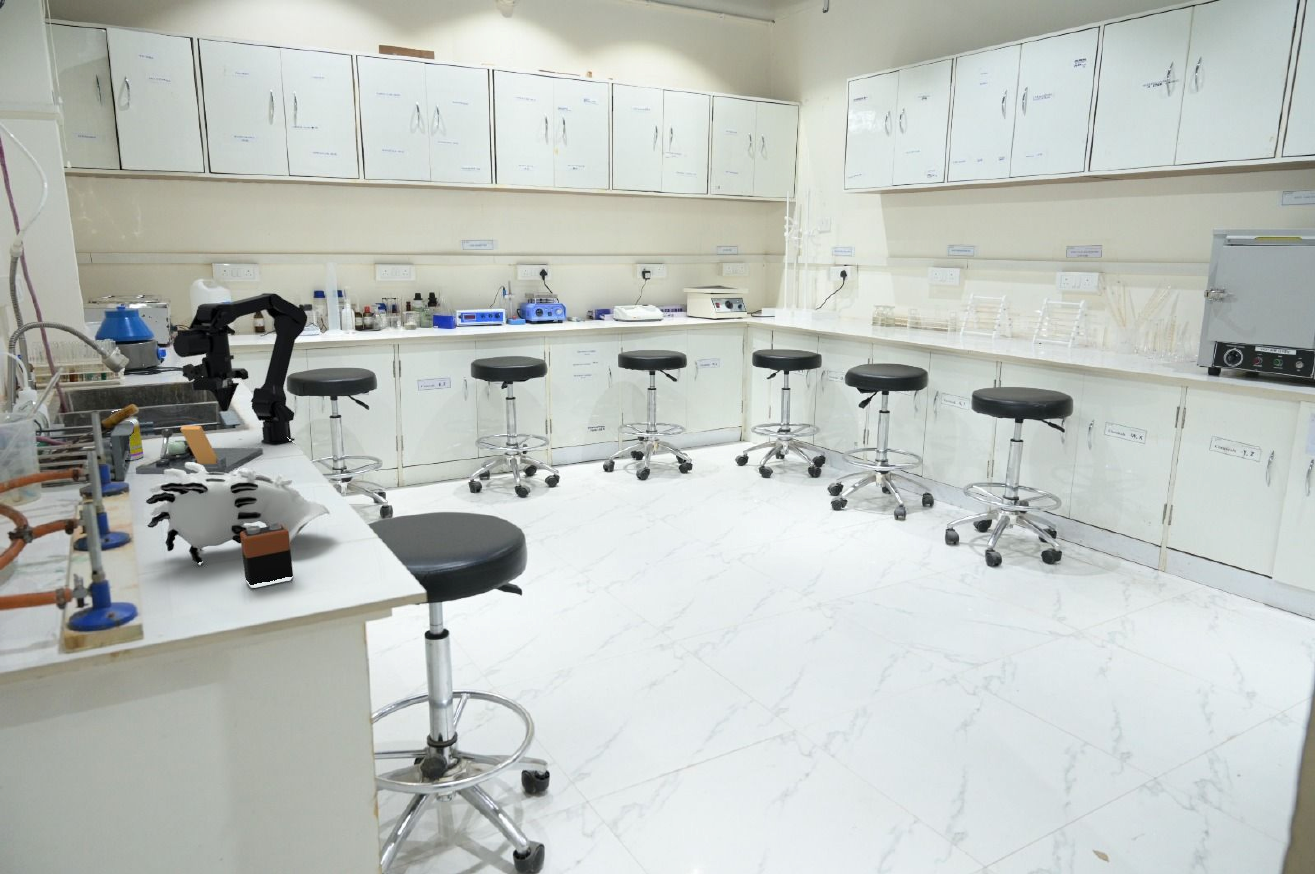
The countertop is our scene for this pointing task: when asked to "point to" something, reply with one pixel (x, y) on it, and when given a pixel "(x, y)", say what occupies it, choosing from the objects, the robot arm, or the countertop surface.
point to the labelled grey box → (184, 442)
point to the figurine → (227, 506)
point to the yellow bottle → (135, 440)
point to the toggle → (165, 441)
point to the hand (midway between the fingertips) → (225, 411)
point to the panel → (226, 460)
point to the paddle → (200, 446)
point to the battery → (266, 553)
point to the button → (176, 447)
